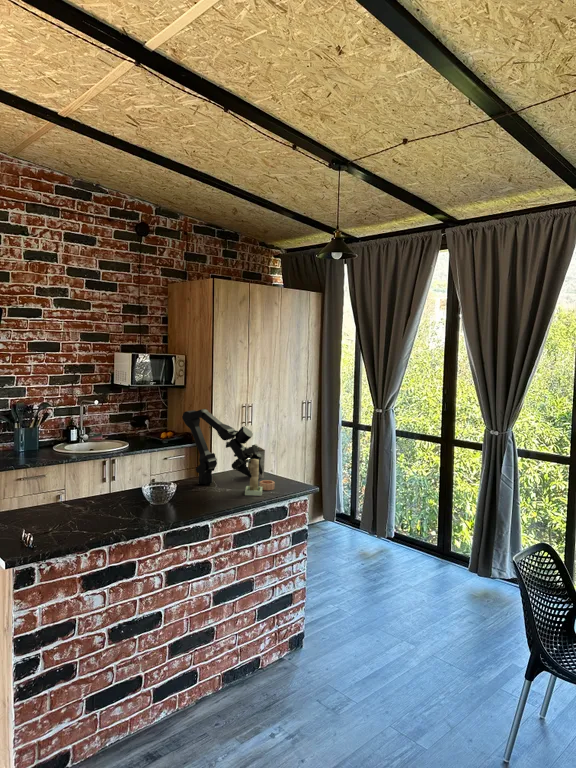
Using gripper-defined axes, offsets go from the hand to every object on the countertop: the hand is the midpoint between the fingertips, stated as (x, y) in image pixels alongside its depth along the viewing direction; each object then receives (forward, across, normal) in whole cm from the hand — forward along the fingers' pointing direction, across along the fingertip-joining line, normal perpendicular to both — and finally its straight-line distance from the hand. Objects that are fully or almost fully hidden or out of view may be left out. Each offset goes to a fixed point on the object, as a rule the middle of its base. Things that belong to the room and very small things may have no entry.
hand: (256, 475), depth 259 cm
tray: (+6, 0, +8) cm, 10 cm away
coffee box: (-6, +26, +20) cm, 34 cm away
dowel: (+5, 0, +7) cm, 9 cm away
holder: (+6, +11, +8) cm, 15 cm away
